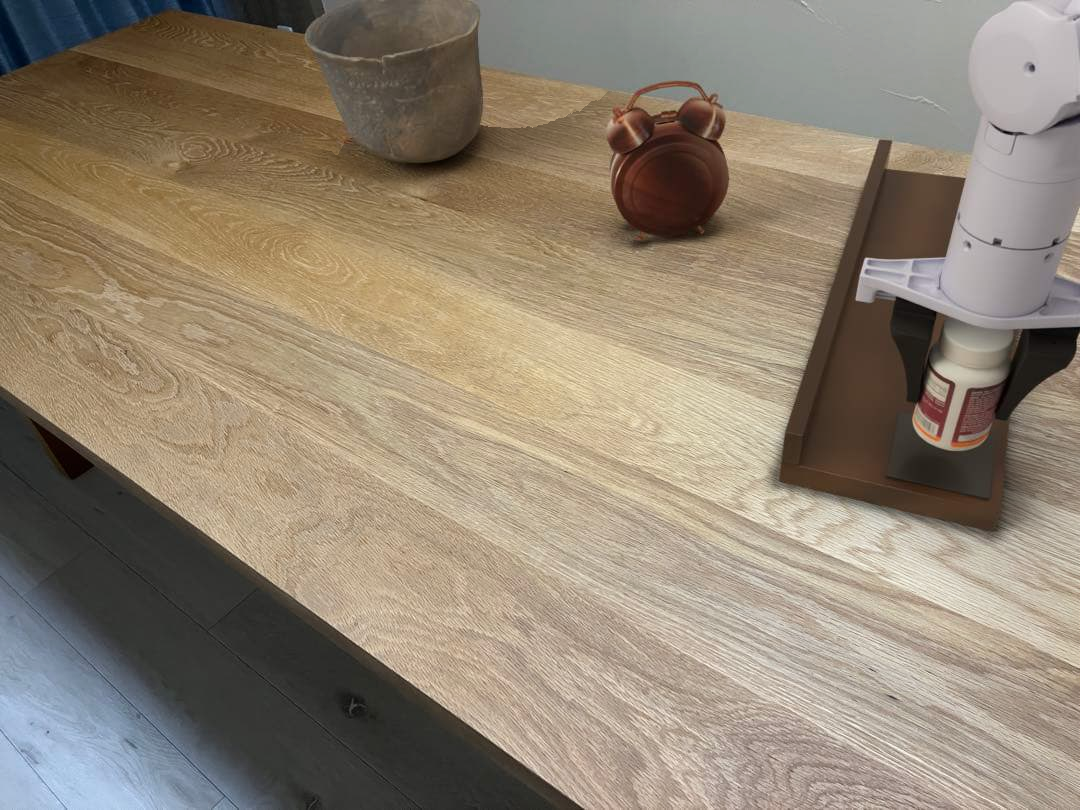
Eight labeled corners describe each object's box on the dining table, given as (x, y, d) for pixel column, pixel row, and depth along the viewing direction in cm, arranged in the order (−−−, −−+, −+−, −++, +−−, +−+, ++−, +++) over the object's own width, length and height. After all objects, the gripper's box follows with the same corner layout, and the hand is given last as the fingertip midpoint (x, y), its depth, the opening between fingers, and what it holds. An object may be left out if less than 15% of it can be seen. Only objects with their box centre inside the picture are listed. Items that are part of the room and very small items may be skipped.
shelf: (1025, 204, 86) (1041, 155, 83) (993, 532, 60) (1013, 481, 57) (871, 185, 91) (879, 138, 87) (778, 481, 65) (784, 432, 61)
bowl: (393, 212, 96) (360, 74, 85) (313, 156, 106) (275, 27, 96) (526, 148, 103) (510, 13, 92) (438, 102, 113) (416, -24, 103)
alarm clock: (717, 211, 90) (725, 63, 80) (728, 238, 87) (737, 87, 76) (607, 224, 90) (600, 77, 80) (613, 252, 87) (607, 102, 76)
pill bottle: (991, 411, 61) (1025, 313, 56) (983, 460, 58) (1018, 362, 53) (916, 395, 63) (942, 298, 57) (905, 442, 60) (931, 345, 54)
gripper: (1163, 199, 50) (1084, 383, 59) (884, 167, 55) (852, 341, 64) (1169, 274, 45) (1083, 460, 55) (865, 231, 50) (833, 408, 60)
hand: (957, 401), depth 59 cm, fingers closed on pill bottle, 5 cm apart
